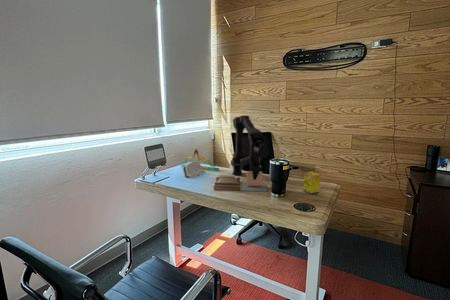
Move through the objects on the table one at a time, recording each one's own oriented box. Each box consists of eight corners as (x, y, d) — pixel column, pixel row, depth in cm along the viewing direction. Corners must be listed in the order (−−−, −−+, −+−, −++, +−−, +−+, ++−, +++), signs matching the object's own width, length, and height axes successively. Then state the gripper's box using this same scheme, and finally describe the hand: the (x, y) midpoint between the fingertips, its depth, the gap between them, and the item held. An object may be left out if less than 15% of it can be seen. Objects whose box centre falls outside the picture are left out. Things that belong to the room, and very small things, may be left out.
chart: (218, 170, 180) (218, 150, 177) (217, 171, 177) (217, 151, 174) (183, 166, 191) (182, 147, 189) (181, 167, 189) (180, 148, 186)
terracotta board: (246, 184, 145) (246, 171, 144) (261, 184, 145) (262, 171, 143) (246, 185, 143) (246, 172, 141) (262, 185, 142) (262, 172, 141)
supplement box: (303, 191, 137) (304, 172, 135) (311, 189, 139) (312, 171, 137) (310, 194, 132) (311, 175, 130) (319, 193, 134) (320, 174, 132)
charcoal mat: (242, 183, 151) (242, 182, 151) (264, 183, 150) (264, 182, 150) (242, 191, 137) (242, 190, 137) (267, 191, 137) (267, 190, 137)
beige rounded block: (189, 178, 161) (185, 163, 161) (184, 179, 164) (180, 165, 164) (204, 172, 175) (200, 158, 175) (199, 173, 178) (195, 160, 178)
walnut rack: (216, 180, 156) (216, 177, 155) (239, 181, 155) (239, 177, 155) (213, 190, 139) (213, 186, 139) (240, 190, 138) (240, 186, 138)
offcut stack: (218, 181, 154) (218, 174, 153) (237, 181, 154) (237, 174, 153) (218, 184, 150) (217, 177, 149) (237, 184, 149) (237, 177, 148)
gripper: (240, 149, 150) (240, 174, 153) (241, 156, 131) (241, 184, 134) (259, 149, 149) (258, 174, 152) (262, 156, 131) (261, 184, 134)
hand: (254, 178), depth 143 cm, fingers closed on terracotta board, 2 cm apart
